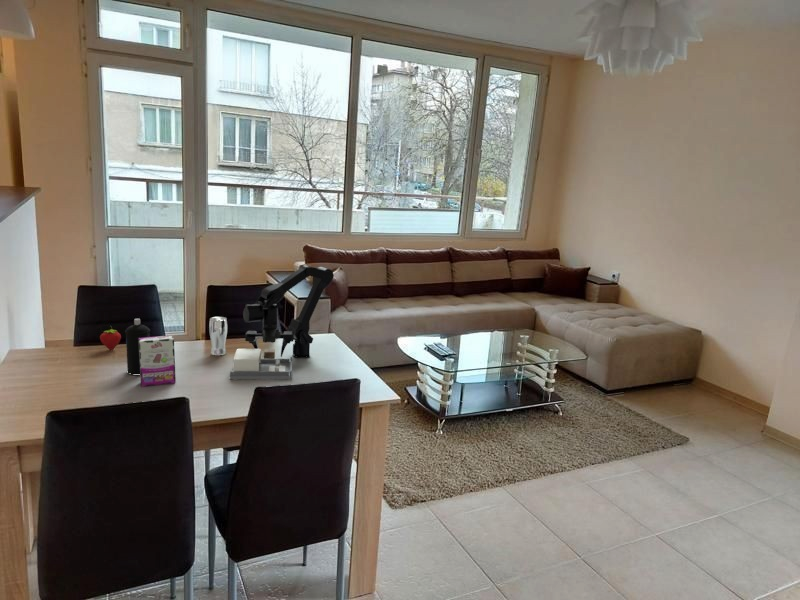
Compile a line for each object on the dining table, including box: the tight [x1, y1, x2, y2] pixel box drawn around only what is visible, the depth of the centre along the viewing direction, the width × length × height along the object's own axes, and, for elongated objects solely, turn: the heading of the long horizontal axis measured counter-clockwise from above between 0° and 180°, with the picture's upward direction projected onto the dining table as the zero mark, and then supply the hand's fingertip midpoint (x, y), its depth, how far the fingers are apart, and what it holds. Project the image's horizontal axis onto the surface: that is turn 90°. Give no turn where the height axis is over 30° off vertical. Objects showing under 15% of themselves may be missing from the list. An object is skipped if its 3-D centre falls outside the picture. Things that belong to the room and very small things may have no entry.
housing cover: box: [232, 348, 262, 371], centre depth 202 cm, size 9×13×6 cm
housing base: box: [229, 356, 293, 380], centre depth 204 cm, size 22×16×3 cm
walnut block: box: [263, 348, 276, 359], centre depth 216 cm, size 4×4×4 cm
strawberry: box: [99, 326, 122, 351], centre depth 215 cm, size 6×8×10 cm
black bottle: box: [124, 318, 151, 374], centre depth 194 cm, size 8×8×20 cm
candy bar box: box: [139, 334, 177, 387], centre depth 185 cm, size 11×5×16 cm, turn 117°
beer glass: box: [208, 316, 228, 357], centre depth 219 cm, size 7×7×15 cm
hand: (269, 356), depth 216 cm, fingers open, 9 cm apart
